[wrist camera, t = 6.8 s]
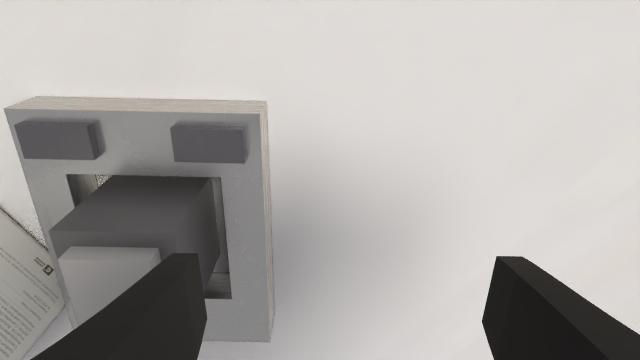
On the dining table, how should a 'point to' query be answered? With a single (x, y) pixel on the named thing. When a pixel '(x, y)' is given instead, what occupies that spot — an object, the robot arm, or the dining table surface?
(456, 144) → the dining table surface
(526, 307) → the robot arm
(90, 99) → the socket plate
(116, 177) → the plug
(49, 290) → the skincare box
